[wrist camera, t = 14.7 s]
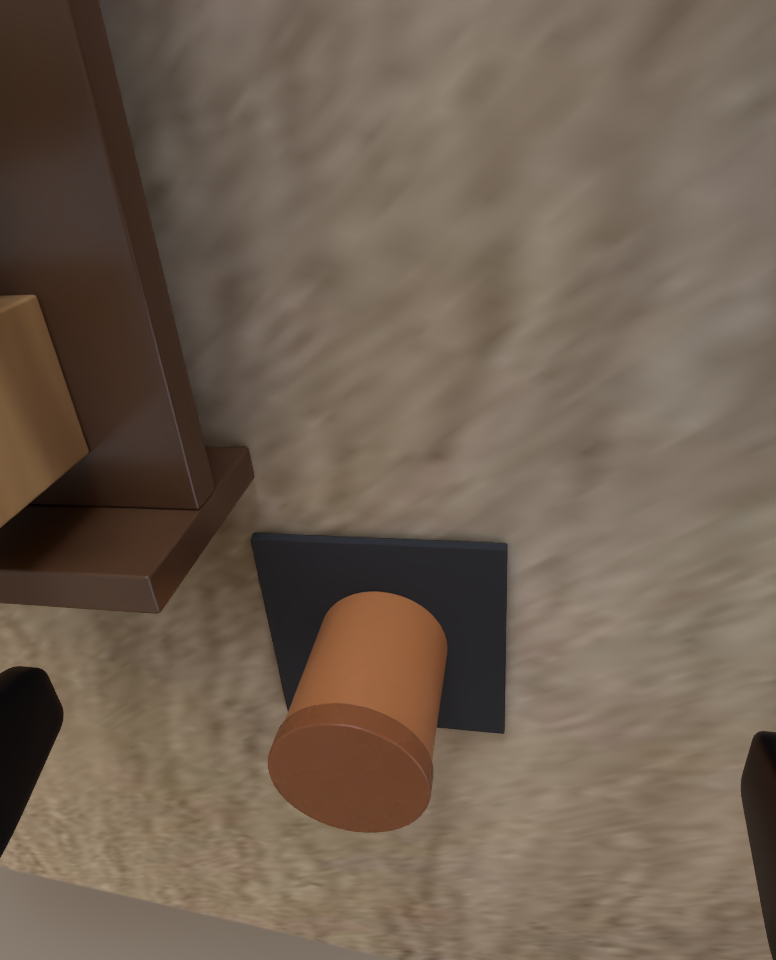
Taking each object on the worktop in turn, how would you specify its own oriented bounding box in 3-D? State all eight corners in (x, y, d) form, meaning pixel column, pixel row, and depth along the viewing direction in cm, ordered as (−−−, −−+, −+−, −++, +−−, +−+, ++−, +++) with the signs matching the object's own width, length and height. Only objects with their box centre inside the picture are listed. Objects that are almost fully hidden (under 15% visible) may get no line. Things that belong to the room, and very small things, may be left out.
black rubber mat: (507, 542, 22) (507, 549, 22) (504, 726, 27) (504, 734, 26) (253, 532, 24) (249, 538, 24) (290, 706, 28) (287, 713, 28)
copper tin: (448, 591, 23) (426, 733, 18) (452, 692, 26) (434, 842, 21) (311, 584, 24) (253, 717, 19) (327, 682, 27) (281, 823, 22)
